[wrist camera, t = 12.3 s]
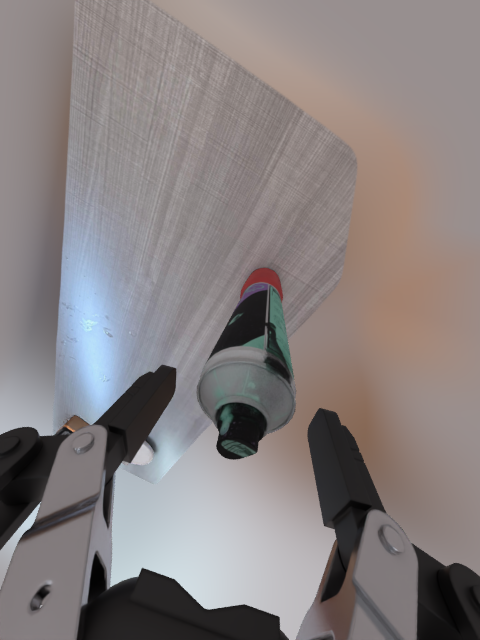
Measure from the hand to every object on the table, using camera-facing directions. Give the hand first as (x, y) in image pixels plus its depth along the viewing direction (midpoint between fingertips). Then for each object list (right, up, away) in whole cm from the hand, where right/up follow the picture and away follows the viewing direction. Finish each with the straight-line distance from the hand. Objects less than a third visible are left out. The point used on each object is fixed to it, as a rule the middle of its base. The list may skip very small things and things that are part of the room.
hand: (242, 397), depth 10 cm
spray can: (+3, +7, +16) cm, 17 cm away
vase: (-40, -43, +59) cm, 83 cm away
